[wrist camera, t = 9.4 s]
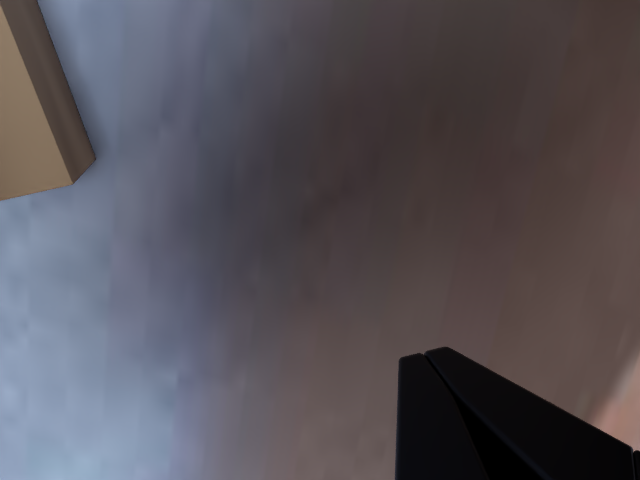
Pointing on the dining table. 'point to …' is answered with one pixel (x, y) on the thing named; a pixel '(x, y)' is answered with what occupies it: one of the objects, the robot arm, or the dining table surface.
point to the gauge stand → (35, 108)
